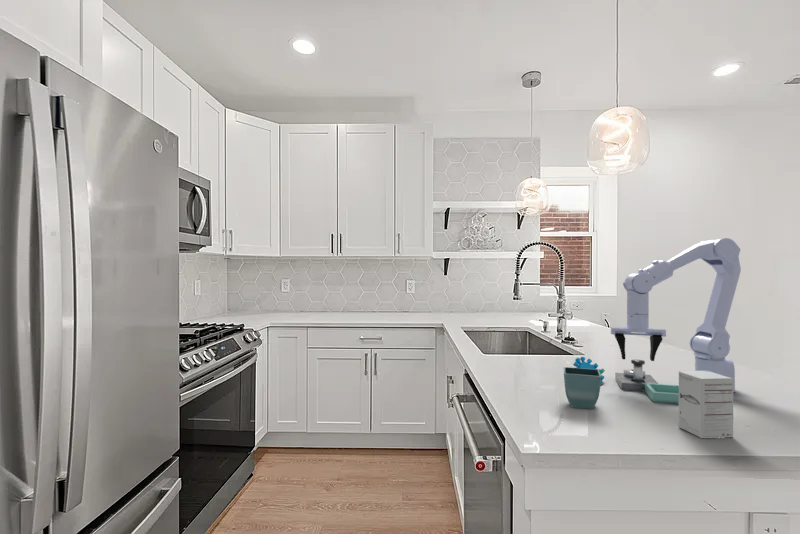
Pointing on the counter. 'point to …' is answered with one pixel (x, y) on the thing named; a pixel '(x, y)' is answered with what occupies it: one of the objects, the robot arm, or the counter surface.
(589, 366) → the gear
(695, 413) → the supplement box
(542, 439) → the counter surface
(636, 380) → the pin
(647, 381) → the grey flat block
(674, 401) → the tray
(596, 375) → the flower pot
